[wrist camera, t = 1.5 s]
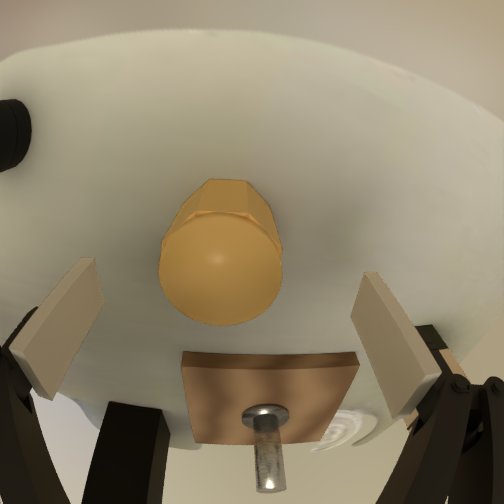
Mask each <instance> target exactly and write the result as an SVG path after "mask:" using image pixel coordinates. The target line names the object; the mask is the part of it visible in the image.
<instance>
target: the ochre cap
mask: <svg viewBox="0 0 504 504" xmlns="http://www.w3.org/2000/svg"><path fill="white" fill-rule="evenodd" d="M161 248H162V254H161V257H160V260H159V267H158V273H159V280H160V284H161V287H162V289H163V292H164V294H165V295H166V297H167V298H168V300H169V301H170V302H171V303H172V305H173V306H174V307H175V308H177V309H178V310H179V311H180V312H181V313H183V314H184V315H186V316H188V317H189V318H191V319H194V320H196V321H199V322H202V323H205V324H210V325H219V326H226V325H235V324H239V323H243V322H246V321H249V320H251V319H253V318H255V317H257V316H258V315H260V314H261V313H262V312H264V311H265V310H266V309H267V308H268V307H269V306H270V305H271V304H272V302H273V301H274V300H275V298H276V296H277V294H278V292H279V290H280V287H281V282H282V266H281V255H282V246H281V242H280V239H279V236H278V232H277V229H276V226H275V223H274V219H273V216H272V213H271V210H270V206H269V205H268V204H267V203H266V202H265V201H264V200H263V199H262V198H261V196H260V195H259V194H258V193H257V192H256V191H255V190H254V189H253V188H252V187H251V185H250V184H249V183H248V182H247V181H244V180H223V179H209V180H208V181H207V182H206V183H205V184H204V185H203V186H202V187H200V188H199V189H198V190H197V191H196V192H195V193H194V194H193V195H192V196H191V197H190V198H189V199H188V200H187V201H186V202H184V204H183V206H182V207H181V209H180V211H179V212H178V214H177V216H176V218H175V219H174V221H173V223H172V225H171V226H170V228H169V230H168V232H167V234H166V235H165V237H164V239H163V241H162V243H161Z"/></svg>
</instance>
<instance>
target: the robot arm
mask: <svg viewBox="0 0 504 504" xmlns="http://www.w3.org/2000/svg"><path fill="white" fill-rule="evenodd" d="M104 304H105V303H104V299H103V295H102V291H101V287H100V283H99V278H98V273H97V269H96V264H95V258H86V257H82V258H81V259H80V260H79V261H78V262H77V263H76V264H75V265H74V266H73V268H72V269H71V270H70V271H69V272H68V273H67V274H66V275H65V277H64V278H63V279H62V280H61V281H60V282H59V283H58V285H57V286H56V287H55V288H54V289H53V290H52V292H51V293H50V294H49V295H48V296H47V298H46V299H45V300H44V301H43V303H42V304H41V305H40V306H39V307H35V308H34V309H32V310H31V311H30V312H28V313H27V314H26V316H25V317H24V318H23V320H22V322H20V323H19V325H18V326H17V328H16V329H15V330H14V331H13V333H12V334H11V335H10V337H9V338H8V339H7V341H6V342H5V344H4V345H3V346H2V348H1V346H0V496H1V499H2V502H3V504H71V503H70V501H69V499H68V497H67V495H66V493H65V491H64V489H63V487H62V484H61V482H60V480H59V478H58V475H57V473H56V470H55V468H54V465H53V463H52V460H51V457H50V455H49V452H48V449H47V446H46V443H45V441H44V438H43V434H42V431H41V428H40V424H39V421H38V417H37V414H36V410H35V407H34V402H33V398H32V396H31V394H30V393H29V392H30V390H31V388H32V387H33V389H34V390H35V392H36V393H37V394H38V396H40V397H43V398H46V399H49V400H51V401H52V400H53V398H54V396H55V394H56V392H57V390H58V388H59V386H60V384H61V382H62V380H63V378H64V376H65V374H66V372H67V370H68V368H69V366H70V364H71V362H72V360H73V358H74V356H75V355H76V353H77V351H78V349H79V347H80V345H81V343H82V342H83V340H84V338H85V336H86V335H87V333H88V331H89V329H90V327H91V326H92V324H93V322H94V321H95V319H96V317H97V315H98V314H99V312H100V310H101V309H102V307H103V305H104ZM351 319H352V321H353V323H354V325H355V328H356V330H357V332H358V335H359V337H360V339H361V341H362V344H363V346H364V348H365V351H366V353H367V355H368V358H369V360H370V363H371V365H372V367H373V370H374V372H375V375H376V377H377V380H378V382H379V385H380V387H381V390H382V392H383V395H384V397H385V400H386V403H387V405H388V408H389V410H390V413H391V416H392V418H393V420H397V419H401V418H406V417H409V416H410V415H411V413H412V412H413V411H414V410H415V408H416V410H417V412H418V414H419V415H418V416H417V417H416V418H415V419H414V420H413V422H412V423H411V424H410V425H409V426H408V428H407V430H409V429H410V428H411V427H412V429H411V431H410V434H409V436H408V439H407V441H406V443H405V446H404V448H403V451H402V453H401V455H400V457H399V459H398V461H397V464H396V466H395V468H394V470H393V472H392V474H391V476H390V478H389V480H388V482H387V484H386V486H385V487H384V489H383V491H382V493H381V495H380V496H379V498H378V500H377V502H376V504H445V501H446V499H447V496H448V493H449V497H448V504H504V382H503V381H502V380H501V379H500V378H498V377H489V378H488V379H487V380H486V382H485V383H484V384H483V385H474V384H471V383H470V381H469V380H468V379H467V378H466V377H464V376H462V375H460V374H456V373H455V374H453V373H452V371H451V369H450V368H449V366H448V364H447V363H446V361H445V359H444V358H443V356H442V354H441V353H440V351H439V350H437V349H438V348H437V347H436V345H435V343H433V340H432V339H431V337H430V336H429V334H428V333H427V332H426V331H425V330H423V329H422V328H421V327H420V326H415V327H414V325H413V324H412V322H411V320H410V319H409V317H408V316H407V314H406V313H405V311H404V310H403V308H402V307H401V305H400V304H399V302H398V301H397V299H396V298H395V297H394V295H393V294H392V292H391V291H390V289H389V288H388V287H387V285H386V284H385V282H384V281H383V279H382V278H381V277H380V275H379V274H378V272H364V274H363V277H362V281H361V284H360V288H359V291H358V294H357V298H356V301H355V304H354V307H353V310H352V313H351ZM482 424H483V431H481V425H482Z"/></svg>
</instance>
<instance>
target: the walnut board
mask: <svg viewBox="0 0 504 504" xmlns="http://www.w3.org/2000/svg"><path fill="white" fill-rule="evenodd" d="M359 366H360V364H359V361H358V359H357V356H356V354H355V352H346V353H329V354H305V355H239V354H214V353H197V352H183V357H182V362H181V370H182V377H183V383H184V389H185V394H186V400H187V405H188V411H189V416H190V421H191V426H192V431H193V436H194V440H195V443H204V444H205V443H206V444H222V445H254V435H253V429H251V428H248V427H246V426H245V425H244V424H243V423H242V413H243V412H244V411H245V410H246V409H247V408H249V407H252V406H255V405H259V404H278V405H281V406H284V407H285V408H287V410H288V411H289V420H288V421H287V422H286V423H285V424H284V425H282V426H280V427H279V428H280V437H281V444H292V443H304V442H315V441H320V439H321V438H322V436H323V435H324V433H325V431H326V429H327V428H328V426H329V424H330V422H331V421H332V419H333V417H334V415H335V414H336V412H337V410H338V408H339V406H340V404H341V402H342V401H343V399H344V397H345V395H346V393H347V391H348V389H349V387H350V385H351V383H352V381H353V379H354V377H355V375H356V373H357V371H358V369H359Z"/></svg>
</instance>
